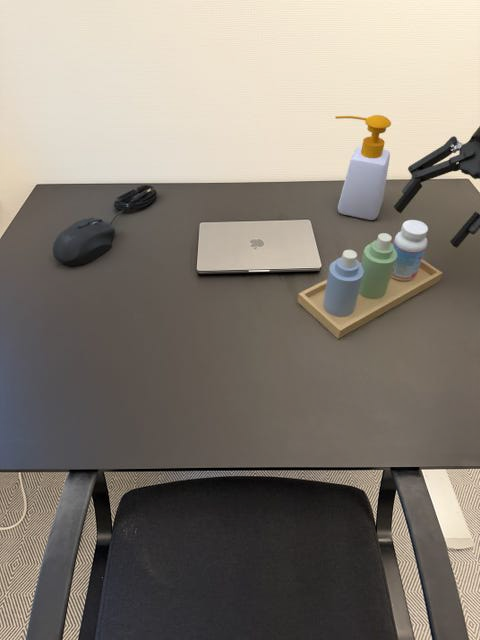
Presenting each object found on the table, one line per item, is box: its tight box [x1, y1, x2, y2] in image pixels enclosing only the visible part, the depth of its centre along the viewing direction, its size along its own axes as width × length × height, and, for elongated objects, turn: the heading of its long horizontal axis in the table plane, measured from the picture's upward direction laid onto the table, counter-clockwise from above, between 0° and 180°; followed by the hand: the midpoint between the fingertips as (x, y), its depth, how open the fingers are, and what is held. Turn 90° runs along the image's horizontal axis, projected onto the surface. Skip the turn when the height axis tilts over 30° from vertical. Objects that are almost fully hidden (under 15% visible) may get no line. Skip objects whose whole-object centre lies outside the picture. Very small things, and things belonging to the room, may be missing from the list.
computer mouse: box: [52, 184, 158, 266], centre depth 106 cm, size 10×32×6 cm, turn 154°
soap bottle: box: [334, 114, 392, 221], centre depth 106 cm, size 10×14×22 cm
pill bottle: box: [391, 219, 429, 281], centre depth 92 cm, size 6×6×11 cm
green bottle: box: [359, 232, 397, 299], centre depth 88 cm, size 6×6×12 cm
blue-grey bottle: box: [323, 249, 364, 317], centre depth 85 cm, size 6×6×12 cm
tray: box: [297, 258, 443, 340], centre depth 92 cm, size 28×12×2 cm, turn 124°
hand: (423, 227), depth 89 cm, fingers open, 13 cm apart
